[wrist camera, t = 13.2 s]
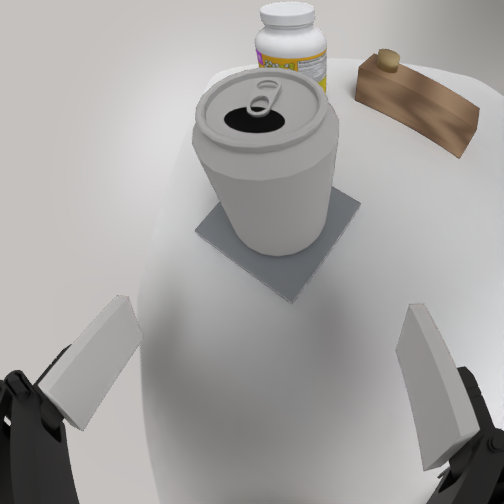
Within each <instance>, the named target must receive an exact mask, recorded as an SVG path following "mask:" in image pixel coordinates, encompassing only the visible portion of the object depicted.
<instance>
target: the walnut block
mask: <svg viewBox="0 0 504 504" xmlns="http://www.w3.org/2000/svg"><path fill="white" fill-rule="evenodd" d="M399 59H400V56H399V55H398V54H397V53H396V52H394V51H392V50H388V49H380V50H379V52H378V55H377V54H373V55H372V56H371V57H369V58H368V59H367V60H366V61H365V62H364V63H363V64H361V65H360V66H359V70H358V79H357V88H356V96H355V100H356V101H358V102H360V103H362V104H365V105H367V106H369V107H371V108H373V109H375V110H377V111H379V112H381V113H383V114H386V115H387V116H389V117H391V118H393V119H395V120H397V121H399V122H401V123H403V124H405V125H406V126H408V127H410V128H412V129H414V130H415V131H417V132H419V133H420V134H422V135H424V136H425V137H427V138H429V139H430V140H432V141H434V142H435V143H437V144H438V145H440V146H441V147H443V148H445V149H446V150H448V151H449V152H451V153H452V154H453V155H455V156H456V157H458V158H459V159H460V157H461V156H462V154H463V152H464V151H465V149H466V147H467V146H468V144H469V142H470V140H471V139H472V137H473V135H474V133H475V132H476V130H477V124H478V117H479V110H480V108H478V107H477V106H475V105H474V104H472V103H471V102H469V101H468V100H466V99H465V98H463V97H461V96H460V95H458V94H457V93H455V92H453V91H452V90H450V89H448V88H446V87H445V86H443V85H441V84H439V83H438V82H436V81H434V80H432V79H430V78H428V77H426V76H424V75H422V74H420V73H418V72H416V71H414V70H412V69H410V68H408V67H406V66H403V65H401V64H399Z"/></svg>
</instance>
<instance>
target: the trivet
mask: <svg viewBox="0 0 504 504" xmlns="http://www.w3.org/2000/svg"><path fill="white" fill-rule="evenodd" d="M360 205H361V203H360V202H358V201H356V200H355V199H353V198H351V197H350V196H348V195H346V194H344V193H343V192H341V191H339V190H338V189H336V188H334V187H332V186H331V193H330V199H329V205H328V210H327V216H326V221H325V225H324V227H323V229H322V231H321V233H320V235H319V237H318V238H317V239H316V240H315V241H314V242H313V243H312V244H310V245H309V246H308V247H307V248H305V249H303V250H301V251H299V252H297V253H295V254H290V255H283V256H272V255H265V254H261V253H259V252H257V251H255V250H253V249H251V248H249V247H247V246H246V245H245V244H244V243H243V242H242V241H241V240H240V239H239V238H238V236H237V234H236V232H235V230H234V228H233V226H232V224H231V222H230V220H229V218H228V216H227V214H226V212H225V210H224V208H223V206H222V204H221V202H219V203H218V204H217V205H216V207H215V208H214V209H213V210H212V211H211V212H210V213H209V215H208V216H207V217H206V218H205V219H204V220H203V221H202V223H201V224H200V225H199V226H198V227H197V228H196V230H195V232H196V233H197V234H198V235H199V236H200V237H201V238H203V239H204V240H205V241H207V242H208V243H210V244H211V245H212V246H214V247H215V248H216V249H218V250H219V251H220V252H222V253H223V254H224V255H226V256H227V257H228V258H230V259H231V260H232V261H234V262H235V263H236V264H238V265H239V266H240V267H242V268H243V269H245V270H246V271H247V272H249V273H250V274H251V275H253V276H254V277H255V278H257V279H258V280H260V281H261V282H262V283H264V284H265V285H266V286H268V287H269V288H271V289H272V290H273V291H275V292H276V293H277V294H279V295H280V296H282V297H283V298H284V299H286V300H287V301H288V302H290V303H291V304H293V302H294V301H295V300H296V298H297V297H298V296H299V294H300V293H301V292H302V290H303V289H304V287H305V286H306V285H307V283H308V282H309V281H310V279H311V278H312V276H313V275H314V274H315V272H316V271H317V270H318V268H319V267H320V265H321V264H322V262H323V261H324V260H325V258H326V257H327V255H328V254H329V252H330V251H331V250H332V248H333V247H334V245H335V244H336V242H337V241H338V239H339V238H340V236H341V235H342V233H343V232H344V231H345V229H346V228H347V226H348V225H349V223H350V221H351V220H352V218H353V217H354V215H355V214H356V212H357V211H358V209H359V207H360Z"/></svg>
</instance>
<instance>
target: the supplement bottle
mask: <svg viewBox="0 0 504 504" xmlns="http://www.w3.org/2000/svg"><path fill="white" fill-rule="evenodd" d="M260 16H261V21H262V22H263V23H264V25H265V27H264V28H263V29H261V30H260V31H259V32H258V34H257V35H256V37H255V47H256V52H257V57H258V63H259V68H283V69H288V70H293V71H297V72H299V73H301V74H304V75H306V76H308V77H310V78H312V79H313V80H314V81H315V82H317V83H318V84H319V85H320V86H321V87H322V88H323V90H324V92H325V94H326V49H327V44H326V37H325V35H324V34H323V32H322V31H321V30H319V29H318V28H317V27H315V26H313V22H314V20H315V13H314V7H313V6H311V5H309V4H306V3H302V2H277V3H271V4H268V5H265V6H263V7H262V8H261V9H260Z"/></svg>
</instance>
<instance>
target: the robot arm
mask: <svg viewBox="0 0 504 504" xmlns="http://www.w3.org/2000/svg"><path fill="white" fill-rule="evenodd" d="M142 340H143V336H142V333H141V330H140V328H139V325H138V322H137V320H136V317H135V314H134V311H133V308H132V305H131V302H130V300H129V297H127V296H119V295H117V296H116V297H115V298H114V299H113V300H112V301H111V302H110V303H109V304H108V305H107V306H106V307H105V308H104V310H103V311H102V312H101V313H100V314H99V315H98V316H97V317H96V318H95V319H94V320H93V321H92V322H91V324H90V325H89V326H88V327H87V328H86V329H85V330H84V331H83V333H82V334H81V335H80V336H79V337H78V338H77V339H76V340H75V341H74V343H73V344H71V345H69V346H68V347H66V348H65V349H63V350H62V351H61V352H60V354H59V355H58V356H57V358H56V359H54V361H53V362H52V364H50V365H49V367H48V368H47V369H46V370H45V371H44V373H43V374H42V375H41V376H40V377H39V379H38V380H37V381H36V383H34V385H32V384H31V383H30V382H29V380H28V379H27V377H26V376H25V375H24V373H23V372H22V371H20V370H15V371H12V372H11V373H9V374H8V375H7V376H6V377H5V379H4V381H3V380H0V504H79V500H78V497H77V493H76V488H75V485H74V480H73V475H72V470H71V465H70V459H69V453H68V447H67V439H66V430H65V425H64V423H63V422H62V421H63V419H64V418H65V419H66V420H67V421H68V422H69V423H70V425H72V426H73V427H75V428H77V429H79V430H81V431H84V429H85V427H86V426H87V424H88V423H89V421H90V419H91V418H92V416H93V414H94V413H95V411H96V409H97V408H98V407H99V405H100V403H101V402H102V400H103V398H104V397H105V395H106V394H107V392H108V391H109V389H110V387H111V386H112V385H113V383H114V382H115V380H116V379H117V377H118V375H119V374H120V372H121V371H122V369H123V368H124V366H125V365H126V363H127V362H128V360H129V359H130V357H131V356H132V354H133V353H134V351H135V350H136V348H137V347H138V346H139V344H140V343H141V341H142ZM396 353H397V357H398V360H399V363H400V367H401V370H402V374H403V377H404V381H405V385H406V388H407V392H408V396H409V400H410V404H411V408H412V413H413V417H414V421H415V426H416V431H417V436H418V441H419V447H420V452H421V458H422V465H423V471H427V470H430V469H434V468H438V467H441V466H442V465H443V464H445V463H446V462H447V461H448V460H449V464H450V466H449V467H448V468H447V469H446V470H444V471H443V472H442V473H441V474H440V475H439V476H438V477H437V478H441V477H442V476H443V475H444V476H443V478H442V479H441V481H440V483H439V484H438V486H437V488H436V489H435V491H434V493H433V494H432V496H431V497H430V499H429V500H428V502H427V503H426V504H504V431H503V430H501V429H498V428H495V427H494V424H493V422H492V419H491V416H490V414H489V411H488V408H487V406H486V403H485V401H484V398H483V396H481V391H480V389H479V387H478V384H477V382H476V380H475V377H474V375H473V374H472V373H471V372H470V371H469V370H468V369H467V368H466V367H465V366H464V367H460V368H456V366H455V363H454V361H453V359H452V357H451V355H450V353H449V351H448V348H447V346H446V344H445V342H444V340H443V338H442V336H441V334H440V332H439V330H438V328H437V327H436V325H435V323H434V321H433V319H432V317H431V315H430V313H429V312H428V310H427V308H426V306H425V305H424V304H409V307H408V311H407V315H406V318H405V322H404V325H403V328H402V332H401V335H400V338H399V341H398V344H397V347H396ZM5 416H6V417H7V418H8V419H9V420H10V421H11V425H10V426H9V425H8V424H7V423H6V422H5V421H4V417H5Z"/></svg>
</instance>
